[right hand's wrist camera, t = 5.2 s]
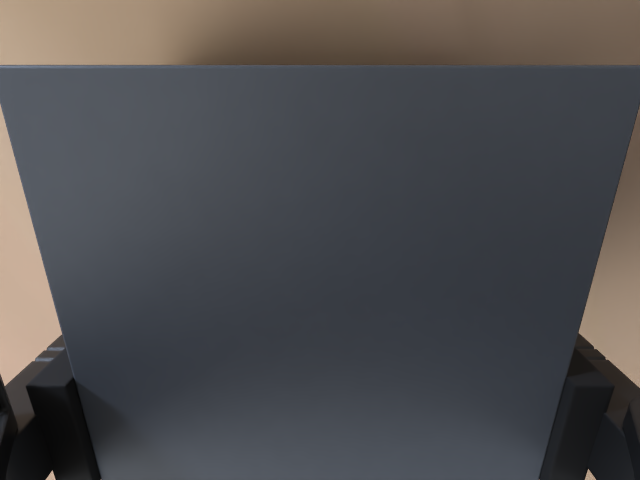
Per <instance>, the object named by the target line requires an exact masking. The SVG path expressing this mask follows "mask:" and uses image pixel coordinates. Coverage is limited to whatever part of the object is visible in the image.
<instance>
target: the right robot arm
mask: <svg viewBox="0 0 640 480" xmlns="http://www.w3.org/2000/svg"><path fill="white" fill-rule="evenodd" d="M588 469H589V470H590V472H591V473H592V474H593V476H594V477H595V478H596V480H640V388H639V387H638V386H637V385H635V384H634V383H633V382H632V381H631V380H630V379H629V378H628V377H627V376H626V375H624V374H623V373H622V372H621V371H620V370H619V369H618V368H617V367H616V366H614V365H613V364H612V363H611V362H610V361H609V360H606V359H605V356H603V355H602V354H601V353H600V352H599V351H598V350H597V349H594V347H593V346H592V345H591V344H590V343H589V342H588V341H587V340H586V339H585V338H584V337H582V336H581V335H580V334H579V333H578V336H577V339H576V343H575V347H574V351H573V354H572V358H571V362H570V365H569V369H568V373H567V377H566V380H565V384H564V388H563V391H562V395H561V399H560V403H559V406H558V410H557V414H556V417H555V421H554V425H553V429H552V432H551V436H550V440H549V443H548V447H547V451H546V455H545V458H544V462H543V466H542V469H541V473H540V477H539V479H540V480H585V477H586V474H587V470H588ZM52 470H53V473H54V476H55V479H56V480H101V476H100V472H99V469H98V465H97V461H96V458H95V454H94V450H93V446H92V443H91V439H90V435H89V431H88V428H87V424H86V420H85V417H84V413H83V409H82V405H81V402H80V398H79V394H78V391H77V387H76V383H75V379H74V376H73V372H72V368H71V364H70V361H69V357H68V353H67V350H66V346H65V342H64V338H63V335H61V336H60V337H59V338H57V339H56V340H55V341H54V342H53V343H52V344H51V345H50V346H49V347H48V348H47V350H46V351H43V352H42V353H41V354H40V355H39V356H38V357H37V358H35V361H32V362H31V363H30V364H29V365H28V366H27V367H26V368H25V369H23V370H22V371H21V372H20V373H19V374H18V375H17V376H16V377H15V378H14V379H12V380H11V381H10V382H9V383H8V384H7V385H6V386H4V383H3V381H2V378H1V375H0V480H46V478H47V477H48V475H49V474H50V473H51V471H52Z"/></svg>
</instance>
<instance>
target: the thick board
mask: <svg viewBox="0 0 640 480" xmlns="http://www.w3.org/2000/svg"><path fill="white" fill-rule="evenodd" d="M0 104H1V108H2V111H3V115H4V119H5V123H6V126H7V130H8V134H9V137H10V141H11V145H12V149H13V152H14V156H15V160H16V163H17V167H18V171H19V175H20V178H21V182H22V186H23V190H24V193H25V197H26V201H27V204H28V208H29V212H30V216H31V219H32V223H33V227H34V230H35V234H36V238H37V242H38V245H39V249H40V253H41V257H42V260H43V264H44V268H45V271H46V275H47V279H48V283H49V286H50V290H51V294H52V297H53V301H54V305H55V309H56V312H57V316H58V320H59V324H60V327H61V331H62V335H63V338H64V342H65V346H66V350H67V353H68V357H69V361H70V364H71V368H72V372H73V376H74V379H75V383H76V387H77V391H78V394H79V398H80V402H81V405H82V409H83V413H84V417H85V420H86V424H87V428H88V431H89V435H90V439H91V443H92V446H93V450H94V454H95V458H96V461H97V465H98V469H99V472H100V476H101V480H539V477H540V473H541V469H542V466H543V462H544V458H545V455H546V451H547V447H548V443H549V440H550V436H551V432H552V429H553V425H554V421H555V417H556V414H557V410H558V406H559V403H560V399H561V395H562V391H563V388H564V384H565V380H566V377H567V373H568V369H569V365H570V362H571V358H572V354H573V351H574V347H575V343H576V339H577V336H578V332H579V328H580V324H581V321H582V317H583V313H584V310H585V306H586V302H587V298H588V295H589V291H590V287H591V284H592V280H593V276H594V272H595V269H596V265H597V261H598V258H599V254H600V250H601V246H602V243H603V239H604V235H605V232H606V228H607V224H608V220H609V217H610V213H611V209H612V206H613V202H614V198H615V194H616V191H617V187H618V183H619V179H620V176H621V172H622V168H623V165H624V161H625V157H626V153H627V150H628V146H629V142H630V139H631V135H632V131H633V127H634V124H635V120H636V116H637V113H638V109H639V105H640V65H0Z"/></svg>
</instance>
